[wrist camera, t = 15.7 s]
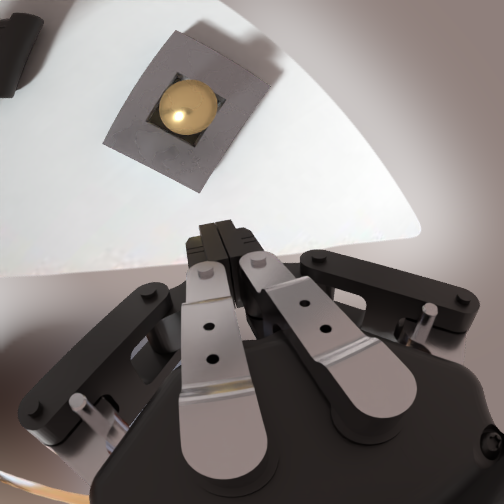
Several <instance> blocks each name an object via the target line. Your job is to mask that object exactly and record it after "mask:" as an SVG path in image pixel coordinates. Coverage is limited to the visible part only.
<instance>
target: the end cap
mask: <svg viewBox="0 0 504 504" xmlns="http://www.w3.org/2000/svg"><path fill="white" fill-rule="evenodd" d="M43 24H44V21H43V20H42V19H41V18H40V17H37V16H35V15H31V14H26V13H13V14H12V16H11V18H10V19H3V20H0V98H12V97H13V96H14V94H15V91H16V88H17V85H18V82H19V79H20V76H21V73H22V71H23V68H24V65H25V63H26V60H27V58H28V56H29V53H30V51H31V49H32V46H33V44H34V42H35V40H36V38H37V36H38V34H39V32H40V30H41V28H42V26H43Z"/></svg>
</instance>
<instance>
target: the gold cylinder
mask: <svg viewBox="0 0 504 504" xmlns="http://www.w3.org/2000/svg"><path fill="white" fill-rule="evenodd" d="M217 108H218V103H217V98H216V96H215V93H214V92H213V90H212V89H211V88H210V87H209V86H208V85H206V84H205V83H203V82H201V81H198V80H182V81H179V82H177V83H175V84H173V85H172V86H170V87H169V88H168V89H167V90H166V91H165V93H164V94H163V96H162V98H161V100H160V104H159V114H160V117H161V120H162V122H163V123H164V125H165V126H166V127H167V128H168V129H170V130H171V131H173V132H175V133H178V134H182V135H191V134H195V133H198V132H201V131H202V130H204V129H206V128H207V127H208V126H209V125H210V124H211V123H212V121H213V120H214V118H215V116H216V113H217Z"/></svg>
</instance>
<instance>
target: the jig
mask: <svg viewBox="0 0 504 504" xmlns="http://www.w3.org/2000/svg"><path fill="white" fill-rule="evenodd" d="M177 77H178V78H180V79H182V80H198V81H201V82H203V83H205V84H206V85H208V86H209V87H210V88H211V89H212V90H213V92H214V93H215V96H216V98H217V100H219V101H220V102H221V103H220V104H219V106H218V108H217V113H216V116H215V118H214V120H213V121H212V123H211V124H210V125H209V126H208V127H207V128H206V129H204V130H202V131H201V133H200V134H199V136H198V138H197V139H196V141H195V142H194V144H193V145H192V144H190V143H188V142H187V141H185V140H183V139H181V138H179V137H177V136H176V135H174V134H172V133H170V132H168V131H166V130H164V129H162V128H161V127H159V126H157V125H155V124H153V123H151V122H149V120H150V118H151V116H152V115H153V113H154V111H155V110H156V108H157V107H158V105H159V103H160V100H161V98H162V96H163V94H164V93H165V91H166V90H167V89H168V88H169V87H170V86H171V85H172V84H173V82H174V81H175V79H176V78H177ZM270 87H271V86H270V85H268V84H267V83H265V82H264V81H263V80H261V79H260V78H258V77H257V76H255V75H254V74H252V73H251V72H249V71H248V70H246V69H244V68H243V67H241V66H240V65H238V64H237V63H235V62H233V61H232V60H230V59H228V58H227V57H225V56H223V55H222V54H220V53H218V52H216V51H215V50H213V49H211V48H209V47H208V46H206V45H204V44H202V43H200V42H198V41H197V40H195V39H193V38H191V37H189V36H187V35H185V34H183V33H181V32H179V31H177V30H175V32H174V33H173V34H172V35H171V37H170V38H169V39H168V40H167V42H166V43H165V44H164V45H163V47H162V48H161V49H160V51H159V52H158V53H157V55H156V56H155V57H154V59H153V60H152V62H151V63H150V64H149V66H148V67H147V69H146V70H145V72H144V73H143V75H142V76H141V78H140V79H139V81H138V82H137V84H136V85H135V87H134V88H133V90H132V92H131V93H130V95H129V96H128V98H127V100H126V101H125V103H124V105H123V106H122V108H121V110H120V112H119V113H118V115H117V117H116V119H115V121H114V122H113V124H112V126H111V128H110V130H109V132H108V134H107V136H106V138H105V140H104V142H103V144H104V145H106V146H108V147H110V148H112V149H114V150H116V151H118V152H120V153H122V154H124V155H126V156H128V157H130V158H132V159H134V160H136V161H138V162H140V163H142V164H144V165H146V166H148V167H150V168H152V169H154V170H156V171H158V172H159V173H161V174H163V175H165V176H167V177H169V178H171V179H173V180H175V181H177V182H179V183H181V184H183V185H184V186H186V187H188V188H190V189H192V190H194V191H196V192H198V193H200V192H201V190H202V188H203V187H204V185H205V184H206V182H207V180H208V179H209V177H210V175H211V174H212V172H213V171H214V169H215V167H216V166H217V164H218V163H219V161H220V159H221V158H222V156H223V155H224V153H225V152H226V150H227V149H228V147H229V146H230V144H231V142H232V141H233V139H234V138H235V136H236V135H237V133H238V132H239V130H240V129H241V128H242V126H243V125H244V123H245V122H246V120H247V119H248V117H249V116H250V114H251V113H252V112H253V110H254V109H255V107H256V106H257V104H258V103H259V102H260V100H261V99H262V98H263V96H264V95H265V93H266V92H267V91H268V89H269V88H270Z"/></svg>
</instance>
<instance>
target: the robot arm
mask: <svg viewBox="0 0 504 504" xmlns="http://www.w3.org/2000/svg"><path fill="white" fill-rule="evenodd" d="M199 230H200V236H196V237H191V238H189V239H188V241H187V242H186V251H187V259H188V266H189V270H188V271H187V274H186V281H185V282H183V283H182V284H180V285H179V286H177V287H175V288H172V289H170V290H169V289H168V287H167V286H166V285H165V284H163V283H159V282H153V283H148V284H145V285H142V286H140V287H138V288H137V289H136V290H135V291H133V292H132V293H131V294H130V295H129V296H128V297H127V298H126V299H124V300H123V301H122V302H121V303H120V304H119V305H118V306H117V307H116V308H114V309H113V310H112V311H111V312H110V313H109V314H108V315H107V316H106V317H105V318H104V319H102V321H100V322H99V323H98V324H97V325H96V326H95V327H94V328H93V329H92V330H91V331H90V332H88V333H87V334H86V335H85V336H84V337H83V338H82V339H81V340H80V341H79V342H78V343H77V344H76V345H75V346H74V347H73V348H72V349H71V350H70V351H69V352H68V353H67V354H66V355H65V356H64V357H63V358H62V359H61V360H60V361H59V362H58V363H57V364H56V365H55V366H54V367H53V368H52V369H51V370H50V371H49V372H48V373H47V374H46V375H45V376H44V377H43V378H42V379H41V380H40V381H39V382H38V383H37V384H36V385H35V386H34V387H33V388H32V389H31V390H30V391H29V392H28V393H27V394H26V395H25V397H24V398H23V399H22V401H21V402H20V405H19V408H18V419H19V421H20V424H21V425H22V426H23V427H24V428H25V429H27V431H29V432H30V433H31V434H32V435H34V436H35V437H36V438H37V439H38V440H39V441H40V442H41V443H42V444H43V445H45V446H46V447H47V448H49V449H50V450H51V451H53V452H54V453H56V454H57V455H58V456H59V457H60V458H61V459H62V460H63V461H64V462H65V463H66V464H67V465H68V466H69V467H70V468H71V469H72V470H73V471H74V472H75V473H76V474H77V475H78V476H79V477H80V478H82V479H83V480H84V481H85V482H86V483H87V484H88V485H89V486H90V487H91V488H90V495H89V500H90V504H504V434H503V433H502V432H500V430H499V429H498V428H497V427H496V425H495V424H494V422H493V419H492V417H491V415H490V413H489V410H488V407H487V403H486V400H485V396H484V391H483V388H482V386H481V384H480V382H479V380H478V378H477V377H476V376H475V375H474V373H472V372H471V371H470V370H469V369H468V368H466V367H465V366H464V358H465V346H466V334H467V332H468V330H469V328H470V326H471V324H472V322H473V320H474V318H475V316H476V314H477V312H478V309H479V307H480V303H479V300H478V299H477V297H476V296H475V295H474V294H473V293H472V292H470V291H468V290H466V289H464V288H461V287H457V286H454V285H450V284H447V283H443V282H440V281H436V280H433V279H429V278H426V277H422V276H419V275H415V274H412V273H408V272H404V271H401V270H397V269H393V268H389V267H386V266H383V265H379V264H375V263H371V262H368V261H364V260H360V259H357V258H353V257H349V256H345V255H341V254H338V253H334V252H330V251H326V250H310V251H307V252H305V253H303V254H302V255H301V257H300V263H282V262H281V261H280V260H279V259H278V258H277V257H276V256H275V255H274V254H272V253H270V252H266V251H264V250H263V248H262V247H261V245H260V244H259V242H258V241H257V239H256V238H255V237H254V235H253V233H252V232H251V231H250V230H248V229H246V228H244V227H243V228H238V229H236V228H235V226H234V225H233V223H232V221H231V220H225V221H220V222H215V223H209V224H204V225H199ZM335 288H337V289H340V290H343V291H346V292H350V293H353V294H356V295H359V296H361V297H362V298H364V300H365V301H366V305H367V306H366V310H361V309H358V308H355V307H352V306H349V305H346V304H343V303H340V302H337V301H333V300H334V291H335ZM235 303H236V306H237V308H240V307H244V308H245V313H246V320H247V322H248V324H249V326H250V328H251V330H252V332H253V334H254V336H255V337H256V340H244V341H242V339H241V335H240V331H239V326H238V322H237V317H236V313H235ZM145 336H146V337H147V339H148V342H147V343H146V344H145V345H144V346H143V347H142V349H141V350H140V351H139V352H138V353H137V354H136V355H135V356H134V358H133V359H132V360H131V359H130V358H131V353H132V351H133V349H134V348H135V347H136V346H137V345H138V344H139V342H140V341H141V340H142V339H143V338H144V337H145ZM180 360H181V365H180V366H179V367H177V368H176V369H175V370H173V369H174V368H175V366H176V365H177V364H178V362H179V361H180ZM172 370H173V371H172ZM146 404H147V405H146ZM145 405H146V406H145ZM143 408H144V409H143ZM142 409H143V410H142ZM140 412H141V413H140ZM139 413H140V414H139ZM138 414H139V416H138ZM137 416H138V417H137ZM136 417H137V418H136ZM135 418H136V420H135V421H134V419H135ZM133 421H134V423H133V424H132V425H131V423H132V422H133ZM130 425H131V427H130V428H129V426H130Z"/></svg>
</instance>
